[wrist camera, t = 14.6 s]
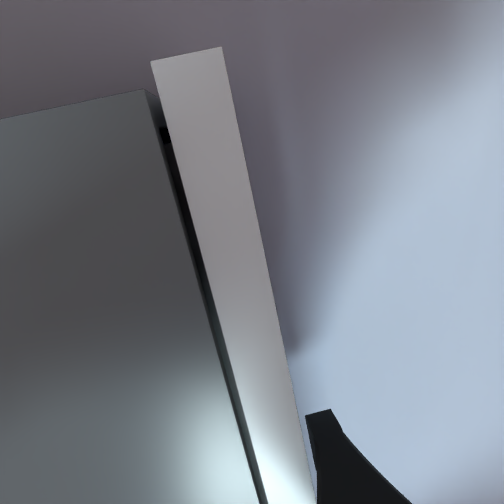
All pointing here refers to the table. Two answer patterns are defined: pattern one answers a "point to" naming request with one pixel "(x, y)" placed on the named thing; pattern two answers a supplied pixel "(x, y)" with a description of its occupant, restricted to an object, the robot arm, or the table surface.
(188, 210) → the tray
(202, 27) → the table surface
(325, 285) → the table surface
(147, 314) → the block
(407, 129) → the table surface
